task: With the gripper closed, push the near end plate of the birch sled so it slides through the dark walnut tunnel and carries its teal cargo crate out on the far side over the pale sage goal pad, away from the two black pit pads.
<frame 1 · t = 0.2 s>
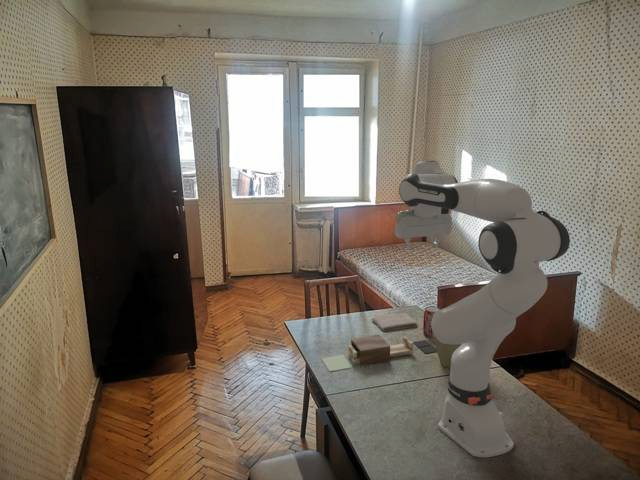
hand: (422, 248, 159), 47 cm above the table, fingers open, 8 cm apart
sled: (380, 349, 182), point 3 cm above the table, slide at 0.0 cm
pit pad a: (429, 350, 186), on the table
goal pad: (336, 363, 177), on the table
soda can: (431, 335, 200), on the table
tunnel: (370, 357, 181), on the table
pit pad b: (422, 344, 191), on the table
plant pot: (449, 364, 176), on the table
washcloth: (394, 325, 211), on the table
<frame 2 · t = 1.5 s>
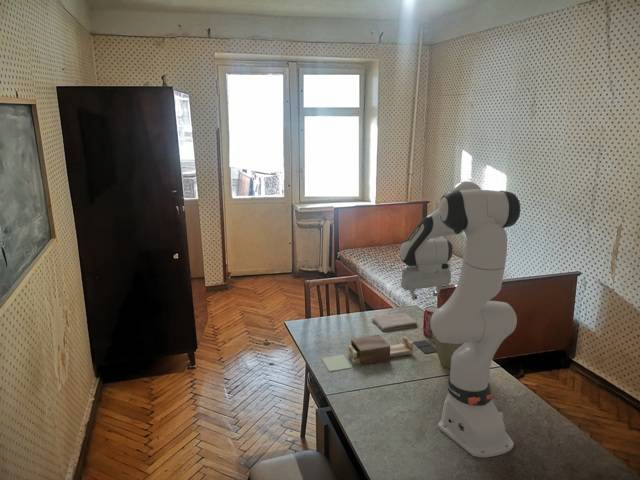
hand: (424, 297, 181), 23 cm above the table, fingers open, 8 cm apart
nothing on the table moved.
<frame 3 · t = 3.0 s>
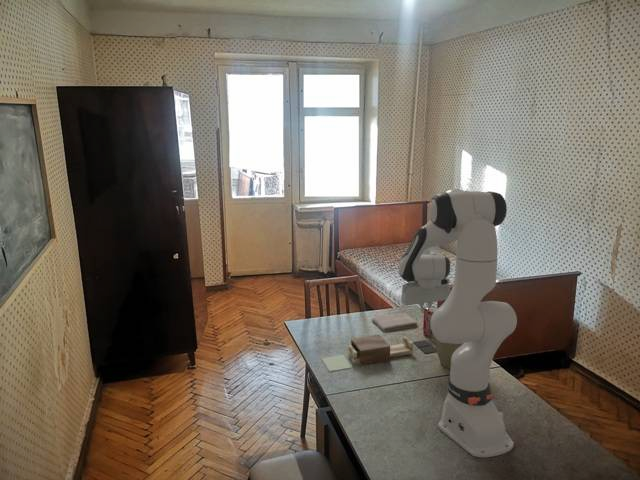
hand: (424, 312, 184), 16 cm above the table, fingers closed
nothing on the table moved.
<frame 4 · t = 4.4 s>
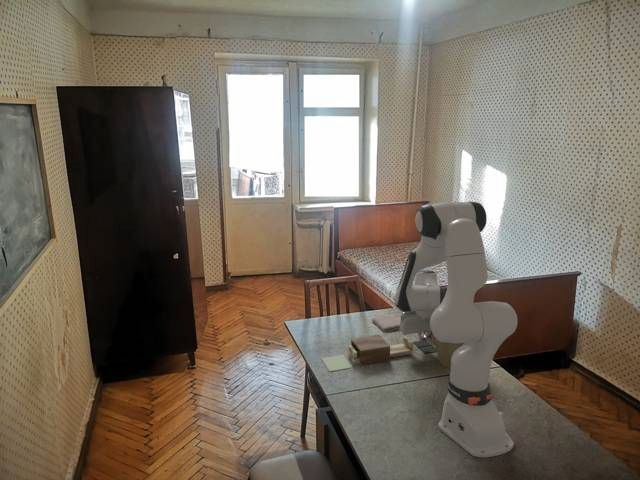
hand: (423, 340, 187), 4 cm above the table, fingers closed
nothing on the table moved.
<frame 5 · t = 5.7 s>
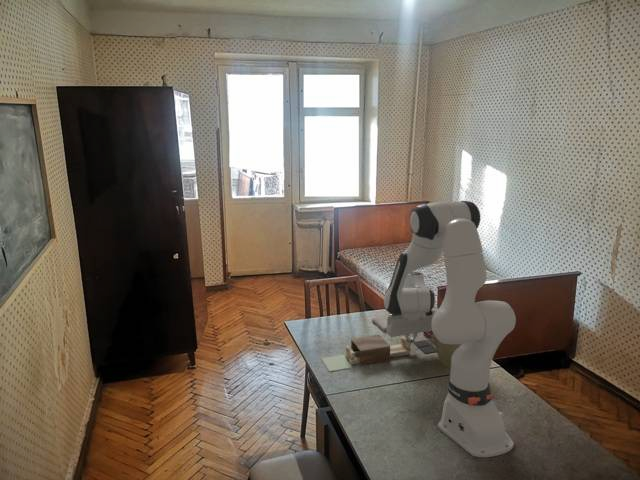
hand: (410, 342, 185), 4 cm above the table, fingers closed
sled: (378, 350, 181), point 3 cm above the table, slide at 1.1 cm, touching gripper
everything else where it was.
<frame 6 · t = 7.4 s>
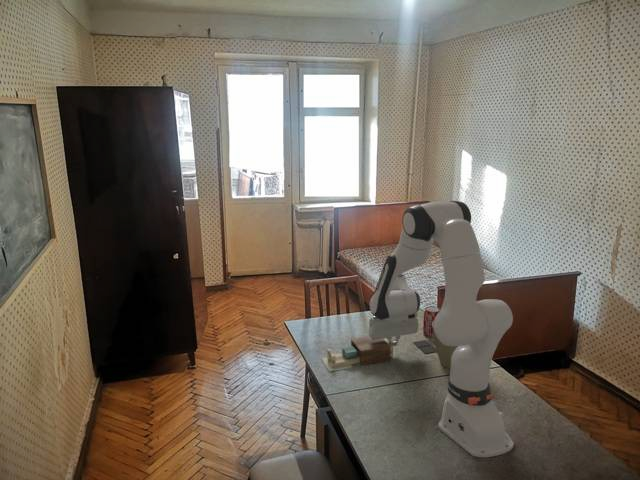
hand: (393, 345, 183), 4 cm above the table, fingers closed
sled: (360, 353, 179), point 3 cm above the table, slide at 8.7 cm, touching gripper
everything else where it was.
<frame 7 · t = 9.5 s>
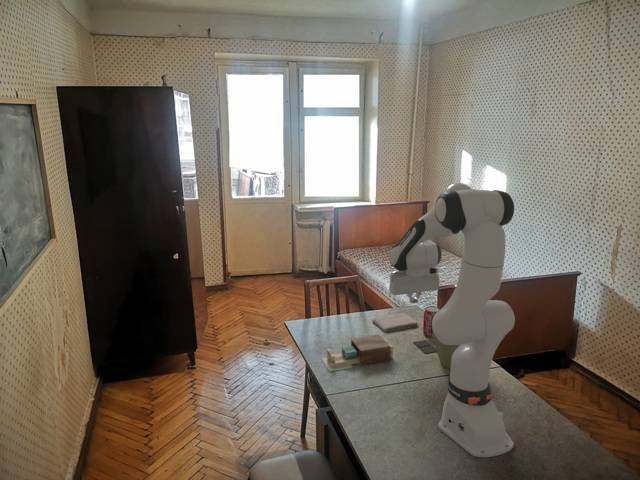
hand: (413, 302, 181), 21 cm above the table, fingers closed
sled: (360, 353, 179), point 3 cm above the table, slide at 8.8 cm
everything else where it was.
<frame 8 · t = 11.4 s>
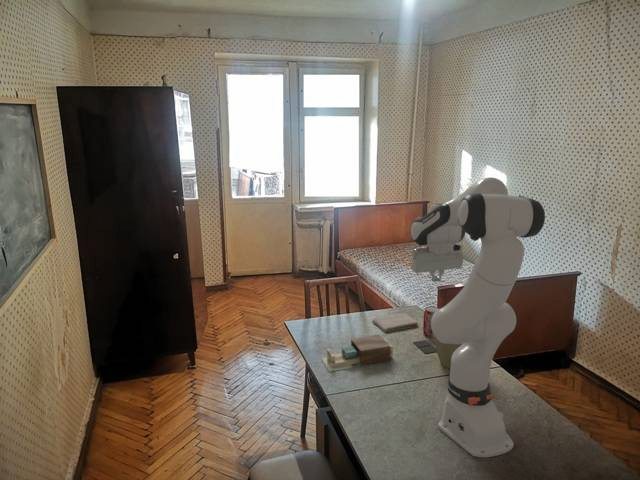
hand: (436, 281, 174), 31 cm above the table, fingers closed
nothing on the table moved.
at the end: sled slide at 8.8 cm; the gripper is holding nothing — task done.
